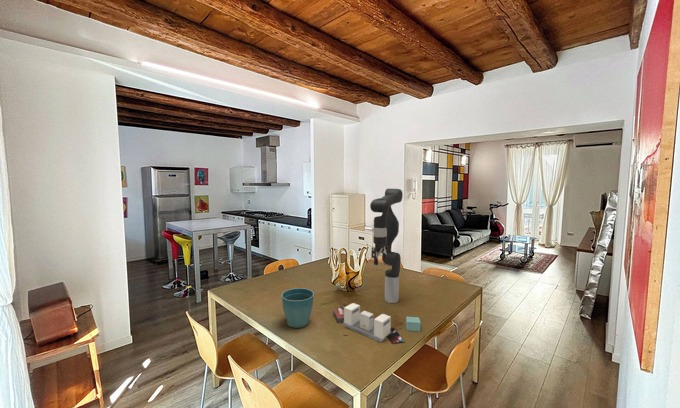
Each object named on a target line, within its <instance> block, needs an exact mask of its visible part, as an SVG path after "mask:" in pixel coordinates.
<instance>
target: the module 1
mask: <svg viewBox="0 0 680 408" xmlns="http://www.w3.org/2000/svg"><path fill="white" fill-rule="evenodd" d="M360 313H361V305H360V304H357V303H354V302H352V303H350V304H348V305H347V306H344V323H346V324H349V325H354V324H355V323H357V322H358V321H359V320H360Z"/></svg>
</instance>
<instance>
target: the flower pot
mask: <svg viewBox="0 0 680 408" xmlns="http://www.w3.org/2000/svg"><path fill="white" fill-rule="evenodd" d="M314 295H315V293H314V291H313V290H311V289H308V288H302V287H301V288H300V287H296V288H290V289H287V290H285V291H283V292H282V293H281V302H282V309H283V313H284V316H285V319H286V324H287V326H288V327H291V328H295V329H296V328H298V329H299V328H303V327H306V326H307V325H308V324H309V320H310V317H311V313H312V310H313V306H314V305H313V304H314Z"/></svg>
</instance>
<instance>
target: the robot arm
mask: <svg viewBox="0 0 680 408" xmlns="http://www.w3.org/2000/svg"><path fill="white" fill-rule="evenodd" d="M402 201H403V191H402V189H400V188H386V189H385V192H384V196H382V197H380V198H375V199H373V200H371V202H370V208H369V209H370V211H372V212H373V213H381V215H379V216H375V217H374V218H373V231H372V232H373V235H372V236H373V241H372V242H373V244H374V246H372V247H371V250H370V251H371V254H370V255H371V258H372V259H373V265H375V266H378V265H379V256H381V260H382V262H383V264H385V265H387V266H391V268H388V269H386V270H385V272H384V302H386V303H388V304H396V303H398V302H399V300H400V286H399V285H400V271H401V263H402V262H401V255H400V253H399V252H396V251H392V245H393V243H394V241H395V239H396V238H397V237H398V235H399V232H400V231H399V227H400V221H399V220H398V218H397V216H396V215H395V213H394V211H393V209H392V206H393V205H395V204H398V203H401V202H402Z"/></svg>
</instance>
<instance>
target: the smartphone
mask: <svg viewBox="0 0 680 408" xmlns="http://www.w3.org/2000/svg"><path fill="white" fill-rule="evenodd" d="M390 332H391V335H389V336H388V337H387V338H386V339H388V340H389V342H390V344H392V345H397V344H398V345H399V344H405V343H406V341H405V339H404V338H403V337H402V336H401V334H400V333H398V330H397V329H396V328H394V327H391V329H390Z"/></svg>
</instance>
